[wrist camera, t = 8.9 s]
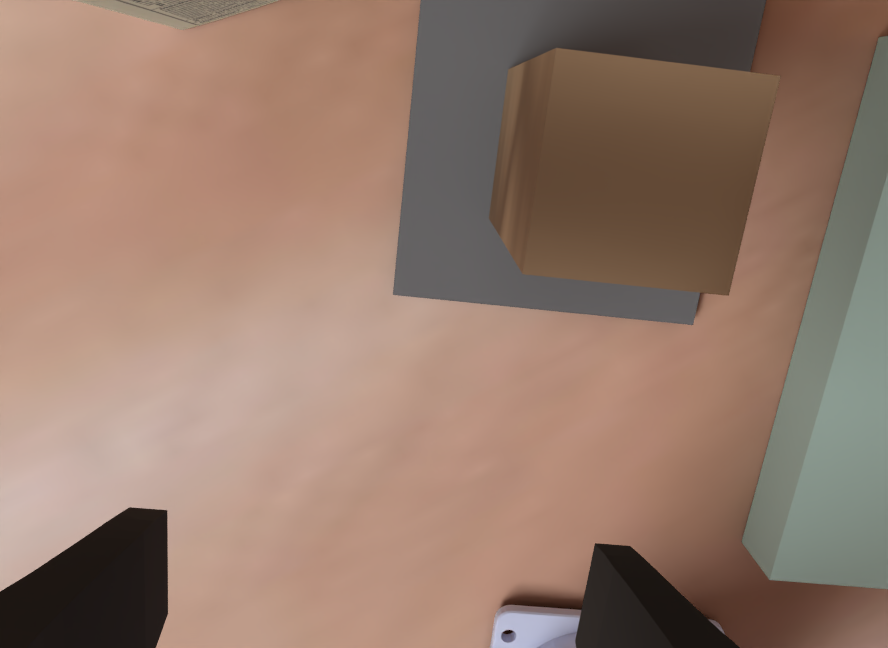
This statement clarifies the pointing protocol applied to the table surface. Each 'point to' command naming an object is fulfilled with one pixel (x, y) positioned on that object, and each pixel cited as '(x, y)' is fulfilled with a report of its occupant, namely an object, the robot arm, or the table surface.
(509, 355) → the table surface
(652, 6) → the rubber mat
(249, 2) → the skincare box
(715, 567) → the table surface
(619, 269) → the walnut block
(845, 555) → the pocket board
